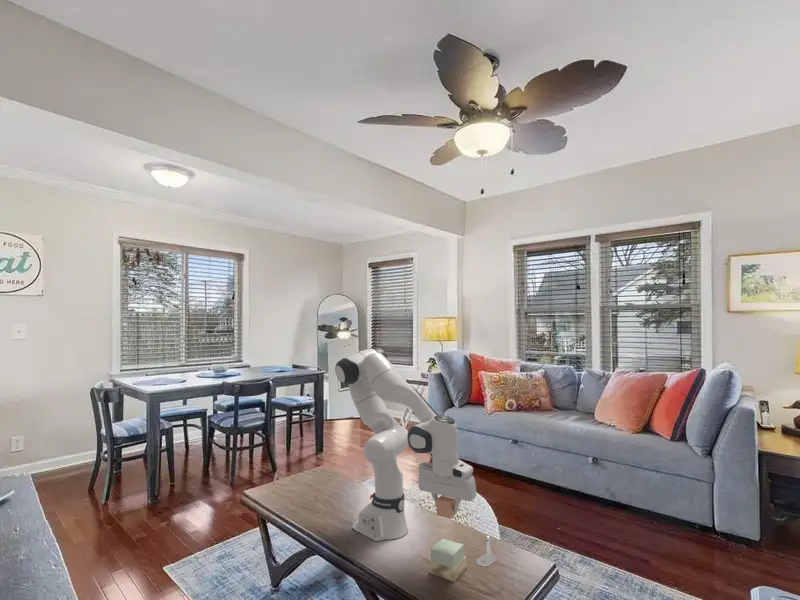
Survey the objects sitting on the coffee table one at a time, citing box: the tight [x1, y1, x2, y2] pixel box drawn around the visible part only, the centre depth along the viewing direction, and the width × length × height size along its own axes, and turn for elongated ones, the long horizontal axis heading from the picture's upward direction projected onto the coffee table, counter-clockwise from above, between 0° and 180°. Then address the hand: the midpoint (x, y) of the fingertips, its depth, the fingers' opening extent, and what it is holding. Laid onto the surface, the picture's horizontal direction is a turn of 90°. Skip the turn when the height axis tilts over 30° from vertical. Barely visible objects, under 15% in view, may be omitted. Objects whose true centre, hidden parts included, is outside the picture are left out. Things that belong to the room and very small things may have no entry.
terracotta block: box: [435, 495, 458, 519], centre depth 144 cm, size 5×5×5 cm
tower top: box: [430, 538, 465, 569], centre depth 144 cm, size 8×8×4 cm
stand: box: [475, 535, 497, 567], centre depth 149 cm, size 8×5×8 cm
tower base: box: [428, 555, 468, 582], centre depth 144 cm, size 9×9×4 cm
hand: (446, 508), depth 144 cm, fingers closed on terracotta block, 5 cm apart
